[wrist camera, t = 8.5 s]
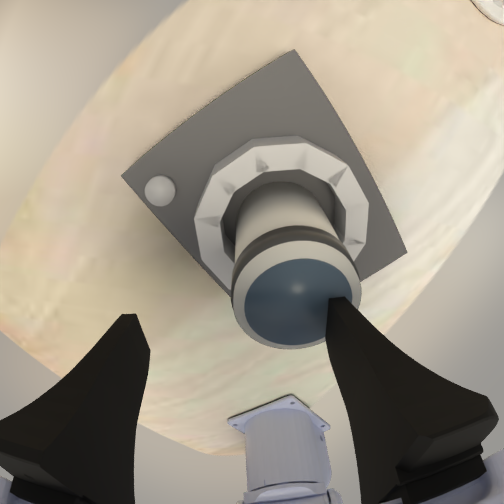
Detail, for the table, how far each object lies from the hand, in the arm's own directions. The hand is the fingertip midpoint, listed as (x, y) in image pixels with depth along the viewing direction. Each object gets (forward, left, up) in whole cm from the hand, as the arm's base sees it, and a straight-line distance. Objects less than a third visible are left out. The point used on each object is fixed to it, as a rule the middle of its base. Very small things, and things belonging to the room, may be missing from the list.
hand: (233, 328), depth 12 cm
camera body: (0, -3, -9) cm, 10 cm away
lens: (-1, -3, -7) cm, 8 cm away
